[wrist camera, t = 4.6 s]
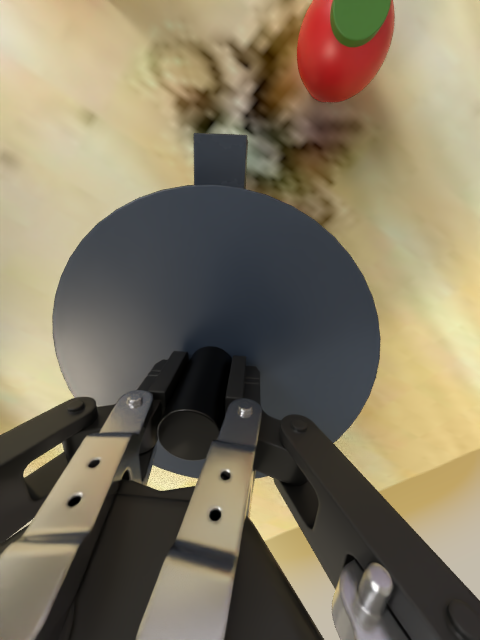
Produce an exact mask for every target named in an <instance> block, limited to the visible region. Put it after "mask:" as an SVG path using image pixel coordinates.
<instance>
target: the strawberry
mask: <svg viewBox="0 0 480 640" xmlns="http://www.w3.org/2000/svg"><path fill="white" fill-rule="evenodd" d="M394 18H395V17H394V5H393V0H313V1H312V3H311V5H310V7H309V8H308V10H307V13H306V15H305V17H304V20H303V23H302V26H301V29H300V33H299V38H298V45H297V63H298V69H299V73H300V77H301V79H302V82H303V84H304V85H305V87H306V89H307V90H308V91H309V93H310V94H311V96H312V97H313V98H315V99H316V100H318V101H321V102H340V101H344V100H347V99H349V98H351V97H353V96H354V95H356V94H357V93H359V92H360V91H361V90H363V89H364V88H365V87H366V86H367V85H368V84H369V83H370V81H371V80H372V79H373V78H374V76H375V75H376V74H377V72H378V71H379V69H380V67H381V66H382V64H383V62H384V60H385V58H386V55H387V53H388V50H389V47H390V44H391V40H392V36H393V30H394Z"/></svg>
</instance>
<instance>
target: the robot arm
mask: <svg viewBox="0 0 480 640" xmlns="http://www.w3.org/2000/svg"><path fill="white" fill-rule="evenodd" d="M188 363H189V354H188V352H182V351H173V353H172V354H171V356H170V357H169V359H168V360H165V359H163V360H161V361H159V362H158V363H156V364H155V365H154V367H153V368H152V369H151V371H150V372H149V373H148V376H146V378H145V379H144V380H143V382H142V383H141V385H140V386H139V387H138V389H137V390H135V391H131V392H128V393H126V394H124V395H123V396H121V397H120V398H119V399H118V401H117V403H116V404H114V405H107V406H100V407H97V406H96V401H95V400H94V399H93V398H91V397H77V398H73V399H71V400H68V401H66V402H64V403H62V404H60V405H58V406H56V407H54V408H52V409H50V410H49V411H47V412H45V413H43V414H41V415H39V416H37V417H35V418H33V419H31V420H29V421H27V422H25V423H23V424H21V425H19V426H17V427H16V428H14V429H12V430H10V431H8V432H6V433H4V434H2V435H0V640H324V638H323V637H322V635H321V634H320V632H319V630H318V629H317V627H316V625H315V624H314V622H313V620H312V619H311V617H310V615H309V614H308V612H307V611H306V609H305V607H304V606H303V604H302V603H301V601H300V599H299V598H298V596H297V594H296V593H295V591H294V590H293V588H292V586H291V584H290V583H289V581H288V580H287V578H286V576H285V575H284V573H283V572H282V570H281V568H280V566H279V565H278V563H277V562H276V560H275V558H274V557H273V555H272V553H271V552H270V550H269V548H268V547H267V545H266V544H265V542H264V540H263V539H262V537H261V535H260V534H259V532H258V530H257V529H256V527H255V526H254V524H253V523H252V521H251V520H250V519H249V517H250V509H251V501H252V494H253V487H254V480H255V473H256V471H258V472H260V473H263V474H265V475H267V476H270V477H272V478H274V483H275V485H276V487H277V488H278V490H279V492H280V494H281V495H282V497H283V499H284V501H285V502H286V504H287V506H288V508H289V509H290V511H291V513H292V514H293V516H294V518H295V520H296V521H297V523H298V525H299V527H300V528H301V530H302V532H303V534H304V535H305V537H306V539H307V541H308V542H309V544H310V546H311V548H312V549H313V551H314V553H315V555H316V556H317V558H318V560H319V562H320V563H321V565H322V567H323V569H324V570H325V572H326V574H327V576H328V577H329V579H330V581H331V583H332V584H333V586H334V588H335V593H334V596H333V600H332V616H333V621H334V625H335V628H336V630H337V632H338V635H339V637H340V640H480V601H479V600H478V599H477V597H476V596H475V595H474V594H473V593H472V592H471V591H470V590H469V589H468V588H467V587H466V586H465V585H464V583H463V582H461V580H460V579H459V578H458V577H457V576H456V575H455V574H454V573H453V572H452V571H451V570H450V568H449V567H448V566H447V565H446V564H445V563H444V562H443V561H442V560H441V559H440V558H439V557H438V556H437V555H436V553H435V552H434V551H433V550H432V549H431V548H430V547H429V546H428V545H427V544H426V543H425V542H424V541H423V540H422V538H421V537H420V536H419V535H418V534H417V533H416V532H415V531H414V530H413V529H412V528H411V527H410V526H409V524H408V523H407V522H406V521H405V520H404V519H403V518H402V517H401V516H400V515H399V514H398V513H397V511H395V509H394V508H393V507H392V506H391V505H390V504H389V503H388V502H387V501H386V500H385V499H384V498H383V496H382V495H381V494H380V493H379V492H378V491H377V490H376V489H375V488H374V487H373V486H372V485H371V484H370V482H369V481H368V480H367V479H366V478H365V477H364V476H363V475H362V474H361V473H360V472H359V471H358V470H357V469H356V467H355V466H354V465H353V464H352V463H351V462H350V461H349V460H348V459H347V458H346V457H345V456H344V455H343V453H342V452H341V451H340V450H339V449H338V448H337V447H336V446H335V445H334V444H333V443H332V442H331V441H330V439H329V438H328V437H327V436H326V435H325V434H324V433H323V432H322V431H321V430H320V429H319V428H318V427H317V426H316V424H315V423H314V422H313V421H312V420H310V419H309V418H307V417H305V416H302V415H297V414H291V415H287V416H285V417H284V418H283V419H282V420H278V419H275V418H273V417H271V416H269V415H267V414H266V413H265V412H264V411H263V409H262V408H261V397H260V371H259V370H258V369H257V367H256V366H246V356H235V355H233V358H232V363H231V369H230V374H229V380H228V386H227V391H226V397H225V418H224V421H223V424H222V427H221V430H220V433H219V436H218V439H217V440H215V439H214V440H213V441H212V443H211V446H210V448H209V451H208V454H207V456H206V459H205V462H204V465H203V467H202V470H201V473H200V476H199V478H198V481H197V484H196V486H192V487H185V488H179V489H173V490H166V491H158V490H155V489H153V488H150V487H148V486H147V482H148V479H149V475H150V472H151V468H152V465H153V461H154V458H155V454H156V451H157V441H158V436H157V427H158V424H159V422H160V420H161V418H162V416H163V414H164V411H165V409H166V407H167V405H168V403H169V401H170V399H171V397H172V395H173V393H174V391H175V389H176V387H177V385H178V383H179V381H180V379H181V377H182V375H183V373H184V371H185V369H186V367H187V365H188ZM60 443H62V444H63V448H64V452H63V453H62V454H60V455H58V456H57V457H55V458H54V459H52V460H51V461H49V462H48V463H46V464H45V465H43V466H42V467H40V468H39V469H37V470H36V471H34V472H33V473H31V474H30V475H28V476H27V477H25V478H24V477H23V472H24V470H25V468H26V467H27V465H28V464H29V463H30V462H32V461H33V460H35V459H36V458H38V457H39V456H41V455H42V454H44V453H46V452H47V451H49V450H50V449H52V448H54V447H55V446H57V445H58V444H60ZM33 518H34V519H33ZM32 519H33V520H32ZM31 520H32V522H31V523H30V524H29V525H28V526H26V527H25V528H23V529H22V530H20V531H19V532H17V531H18V530H19V529H20V528H21V527H23V526H24V525H26V524H27V523H28V522H29V521H31ZM15 532H17V533H16V534H14V533H15ZM13 534H14V535H13ZM12 535H13V536H12ZM10 536H12V537H10ZM9 537H10V538H9Z"/></svg>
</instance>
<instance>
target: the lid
mask: <svg viewBox="0 0 480 640" xmlns="http://www.w3.org/2000/svg"><path fill="white" fill-rule="evenodd" d="M53 339H54V345H55V351H56V356H57V359H58V362H59V366H60V369H61V372H62V374H63V376H64V379H65V381H66V383H67V385H68V388H69V389H70V391H71V393H72V394H73V396H74V398H77V397H91V398H93V399H94V400H95V401H96V406H97V407H100V406H107V405H114V404H116V403H117V401H118V399H119V398H120V397H121V396H123V395H124V394H126V393H128V392H131V391H135V390H137V389H138V387H139V386H140V385H141V383H142V382H143V380H144V379H145V378H146V376H148V373H149V372H150V371H151V369H152V368H153V367H154V365H155V364H156V363H158V362H159V361H161V360H163V359H165V360H168V359H169V357H170V356H171V354H172V353H173V351H182V352H188V354H189V363H188V365H187V367H186V369H185V371H184V373H183V375H182V377H181V379H180V381H179V383H178V385H177V387H176V389H175V391H174V393H173V395H172V397H171V399H170V401H169V403H168V405H167V407H166V409H165V411H164V414H163V416H162V418H161V420H160V422H159V424H158V427H157V436H158V441H157V451H156V454H155V458H154V461H153V465H154V466H156V467H159V468H161V469H164V470H167V471H170V472H173V473H176V474H180V475H184V476H188V477H193V478H199V476H200V473H201V470H202V467H203V465H204V462H205V459H206V456H207V454H208V451H209V448H210V446H211V443H212V441H213V440H214V439H215V440H217V439H218V436H219V433H220V430H221V427H222V424H223V421H224V418H225V397H226V391H227V386H228V380H229V374H230V369H231V363H232V358H233V355H235V356H246V366H256V367H257V369H258V370H259V371H260V397H261V408H262V409H263V411H264V412H265V413H266V414H267V415H269V416H271V417H273V418H275V419H278V420H282V419H283V418H284V417H285V416H287V415H291V414H297V415H302V416H305V417H307V418H309V419H310V420H312V421H313V422H314V423H315V424H316V426H317V427H318V428H319V429H320V430H321V431H322V432H323V433H324V434H325V435H326V436H327V437H328V438H329V439H330V441H331V442H332V443H334V442H335V441H337V440H338V439H339V438H340V437H341V436H342V435H343V433H344V432H345V431H346V430H347V429H348V428H349V427H350V426H351V425H352V423H353V422H354V420H355V419H356V418H357V416H358V415H359V413H360V412H361V410H362V408H363V406H364V405H365V403H366V401H367V399H368V397H369V395H370V392H371V389H372V387H373V384H374V381H375V378H376V374H377V369H378V363H379V358H380V331H379V321H378V315H377V311H376V308H375V304H374V300H373V297H372V294H371V292H370V290H369V287H368V285H367V283H366V281H365V278H364V276H363V274H362V273H361V271H360V270H359V268H358V266H357V265H356V263H355V262H354V260H353V259H352V257H351V256H350V254H349V253H348V252H347V251H346V250H345V249H344V247H343V246H342V245H341V244H340V243H339V242H338V241H337V239H336V238H335V237H334V236H333V235H332V234H330V233H329V232H328V231H327V230H326V229H325V228H323V227H322V226H321V225H320V224H319V223H317V222H316V221H315V220H314V219H312V218H311V217H309V216H307V215H306V214H304V213H303V212H301V211H299V210H298V209H296V208H295V207H293V206H291V205H289V204H287V203H284V202H282V201H280V200H277V199H275V198H273V197H271V196H268V195H265V194H262V193H258V192H254V191H251V190H247V189H243V188H238V187H230V186H221V185H187V186H181V187H175V188H170V189H164V190H160V191H157V192H154V193H151V194H148V195H146V196H143V197H140V198H137V199H135V200H133V201H132V202H130V203H128V204H126V205H124V206H122V207H120V208H118V209H116V210H115V211H114V212H112V213H111V214H110V215H108V216H107V217H106V218H104V219H103V220H102V221H100V222H99V223H98V224H97V225H96V226H95V227H94V228H93V229H92V230H91V231H90V232H89V233H88V234H87V235H86V236H85V237H84V238H83V239H82V241H81V242H80V244H79V245H78V247H77V248H76V249H75V251H74V252H73V254H72V255H71V257H70V258H69V260H68V263H67V265H66V267H65V269H64V271H63V273H62V275H61V278H60V281H59V285H58V288H57V291H56V295H55V301H54V309H53ZM266 476H267V475H265V474H263V473H260V472H258V471H256V473H255V478H262V477H266Z"/></svg>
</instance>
